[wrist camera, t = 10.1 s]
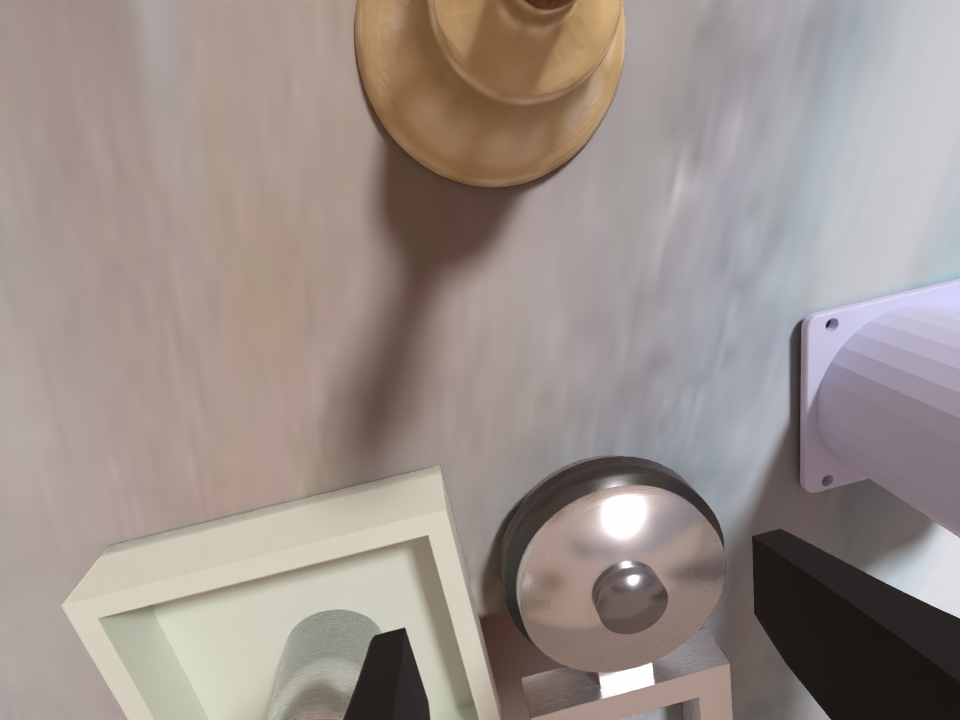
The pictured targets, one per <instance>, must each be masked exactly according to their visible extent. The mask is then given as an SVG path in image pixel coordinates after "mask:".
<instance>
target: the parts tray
mask: <svg viewBox="0 0 960 720" xmlns="http://www.w3.org/2000/svg"><path fill="white" fill-rule="evenodd" d="M62 608H63V610H64V611H65V613H66V615H67V616H68V618H69V620H70V621H71V623H72V625H73V627H74V628H75V630H76V632H77V633H78V635H79V637H80V638H81V640H82V642H83V644H84V645H85V647H86V649H87V650H88V652H89V654H90V655H91V657H92V659H93V661H94V662H95V664H96V666H97V667H98V669H99V671H100V672H101V674H102V676H103V678H104V679H105V681H106V683H107V684H108V686H109V688H110V689H111V691H112V693H113V695H114V696H115V698H116V700H117V701H118V703H119V705H120V706H121V708H122V710H123V712H124V713H125V715H126V717H127V718H128V720H267V718H268V714H269V710H270V705H271V701H272V697H273V693H274V689H275V685H276V681H277V677H278V673H279V669H280V665H281V661H282V657H283V652H284V648H285V644H286V640H287V638H288V636H289V634H290V632H291V631H292V630H293V628H294V627H295V626H296V625H297V624H298V623H299V622H301V621H302V620H303V619H305V618H307V617H308V616H310V615H313V614H315V613H318V612H321V611H326V610H334V609H342V610H350V611H354V612H357V613H360V614H363V615H365V616H367V617H368V618H370V619H371V620H372V621H373V622H375V623H376V624H377V626H378V627H379V628H380V630H381V631H382V633H385V632H389V631H393V630H397V629H400V628H404V627H405V628H406V632H407V635H408V638H409V641H410V644H411V647H412V651H413V654H414V657H415V660H416V663H417V667H418V670H419V673H420V676H421V679H422V682H423V686H424V689H425V692H426V695H427V698H428V701H429V710H430V719H431V720H503V717H502V712H501V706H500V701H499V696H498V692H497V688H496V684H495V680H494V676H493V672H492V668H491V665H490V660H489V656H488V652H487V649H486V644H485V641H484V637H483V633H482V629H481V625H480V621H479V617H478V613H477V609H476V605H475V601H474V597H473V593H472V589H471V585H470V581H469V577H468V573H467V569H466V565H465V561H464V558H463V554H462V550H461V546H460V542H459V538H458V534H457V530H456V526H455V522H454V518H453V514H452V510H451V506H450V502H449V498H448V494H447V490H446V486H445V482H444V478H443V475H442V471H441V467H440V465H438V466H434V467H430V468H426V469H422V470H418V471H414V472H409V473H405V474H401V475H397V476H393V477H389V478H385V479H381V480H377V481H373V482H368V483H364V484H360V485H356V486H352V487H348V488H344V489H340V490H336V491H332V492H327V493H323V494H319V495H315V496H311V497H307V498H303V499H299V500H295V501H291V502H286V503H282V504H278V505H274V506H270V507H266V508H262V509H258V510H254V511H250V512H245V513H241V514H237V515H233V516H229V517H225V518H221V519H217V520H213V521H209V522H204V523H200V524H196V525H192V526H188V527H184V528H180V529H176V530H172V531H168V532H163V533H159V534H155V535H151V536H147V537H143V538H139V539H135V540H131V541H127V542H123V543H118V544H114V545H110V546H108V547H107V548H106V550H105V551H104V552H103V553H102V555H101V556H100V557H99V558H98V560H97V561H96V562H95V564H94V565H93V566H92V567H91V569H90V570H89V571H88V572H87V574H86V575H85V576H84V578H83V579H82V580H81V581H80V583H79V584H78V585H77V586H76V588H75V589H74V590H73V592H72V593H71V594H70V595H69V597H68V598H67V599H66V600H65V602H64V603H63V604H62Z"/></svg>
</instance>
